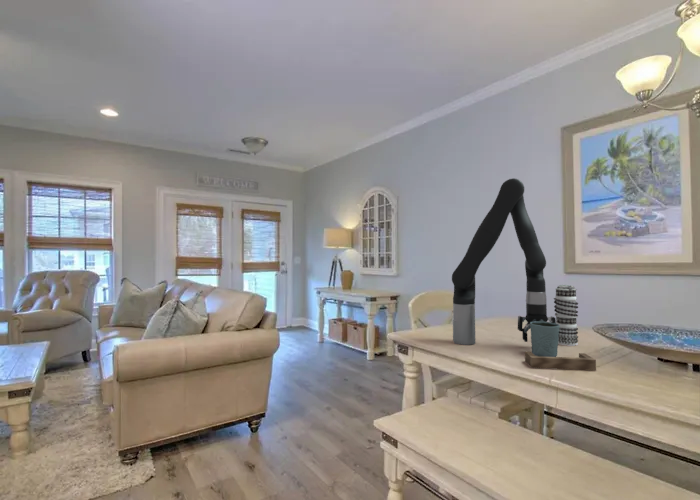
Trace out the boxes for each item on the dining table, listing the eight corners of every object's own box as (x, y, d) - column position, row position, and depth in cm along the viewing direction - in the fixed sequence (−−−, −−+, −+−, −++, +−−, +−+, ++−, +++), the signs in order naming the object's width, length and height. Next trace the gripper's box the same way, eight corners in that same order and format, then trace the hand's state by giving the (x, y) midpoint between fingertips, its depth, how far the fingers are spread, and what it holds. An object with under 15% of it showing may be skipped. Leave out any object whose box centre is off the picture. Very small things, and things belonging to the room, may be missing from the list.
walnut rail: (531, 367, 127) (531, 357, 127) (525, 361, 135) (524, 351, 135) (596, 370, 123) (595, 359, 123) (585, 363, 131) (585, 353, 131)
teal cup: (530, 350, 149) (530, 320, 150) (559, 352, 145) (558, 322, 145) (530, 356, 140) (530, 325, 140) (561, 359, 136) (560, 327, 136)
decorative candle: (550, 340, 164) (549, 284, 165) (571, 340, 164) (570, 284, 164) (561, 346, 155) (560, 286, 156) (583, 346, 155) (582, 286, 155)
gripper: (520, 303, 150) (521, 343, 150) (558, 303, 148) (559, 344, 147) (515, 301, 157) (516, 339, 157) (551, 301, 155) (552, 340, 155)
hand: (536, 341), depth 152 cm, fingers open, 8 cm apart
